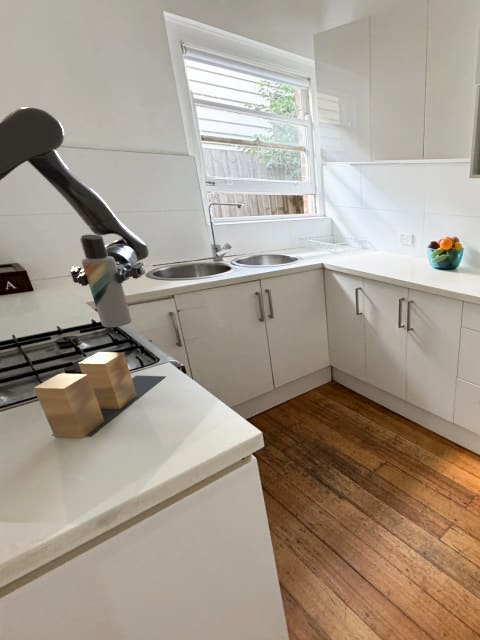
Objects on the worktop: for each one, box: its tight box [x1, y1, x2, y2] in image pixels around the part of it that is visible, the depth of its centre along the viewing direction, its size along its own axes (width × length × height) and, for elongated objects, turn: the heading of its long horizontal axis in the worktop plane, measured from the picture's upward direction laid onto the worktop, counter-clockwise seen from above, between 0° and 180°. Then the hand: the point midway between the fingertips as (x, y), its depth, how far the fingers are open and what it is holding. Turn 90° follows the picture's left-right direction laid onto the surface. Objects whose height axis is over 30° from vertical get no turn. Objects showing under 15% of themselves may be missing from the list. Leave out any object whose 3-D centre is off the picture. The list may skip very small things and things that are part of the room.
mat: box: [51, 375, 167, 438], centre depth 77 cm, size 22×7×1 cm, turn 0°
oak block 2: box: [78, 351, 137, 409], centre depth 75 cm, size 5×5×10 cm
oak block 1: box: [33, 373, 104, 439], centre depth 67 cm, size 5×5×10 cm
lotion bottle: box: [79, 234, 133, 328], centre depth 84 cm, size 6×6×20 cm
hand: (101, 279), depth 82 cm, fingers closed on lotion bottle, 5 cm apart
